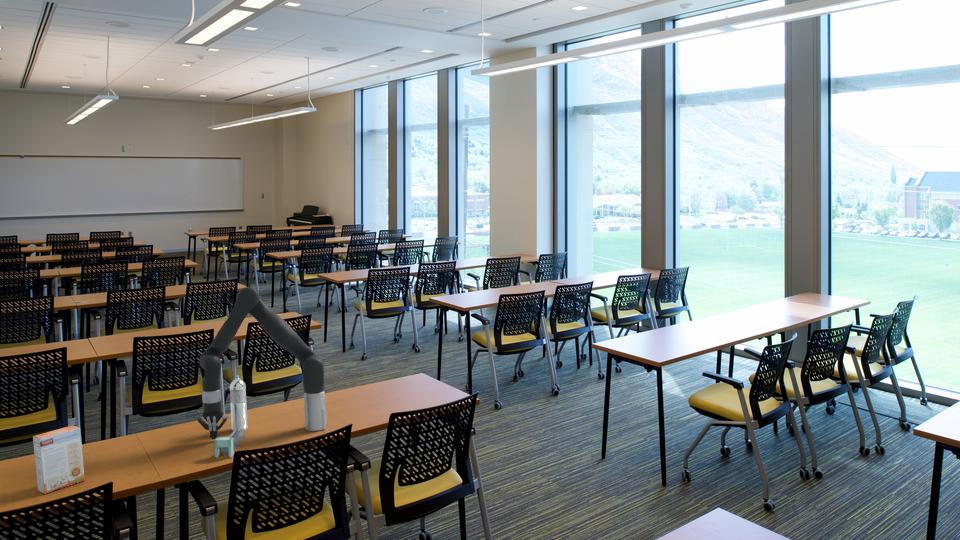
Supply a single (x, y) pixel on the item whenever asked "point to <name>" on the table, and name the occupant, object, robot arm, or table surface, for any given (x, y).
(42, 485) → the cracker box
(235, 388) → the water bottle
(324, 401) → the robot arm
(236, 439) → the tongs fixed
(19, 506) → the table surface
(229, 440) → the lock collar
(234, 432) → the tong arm
